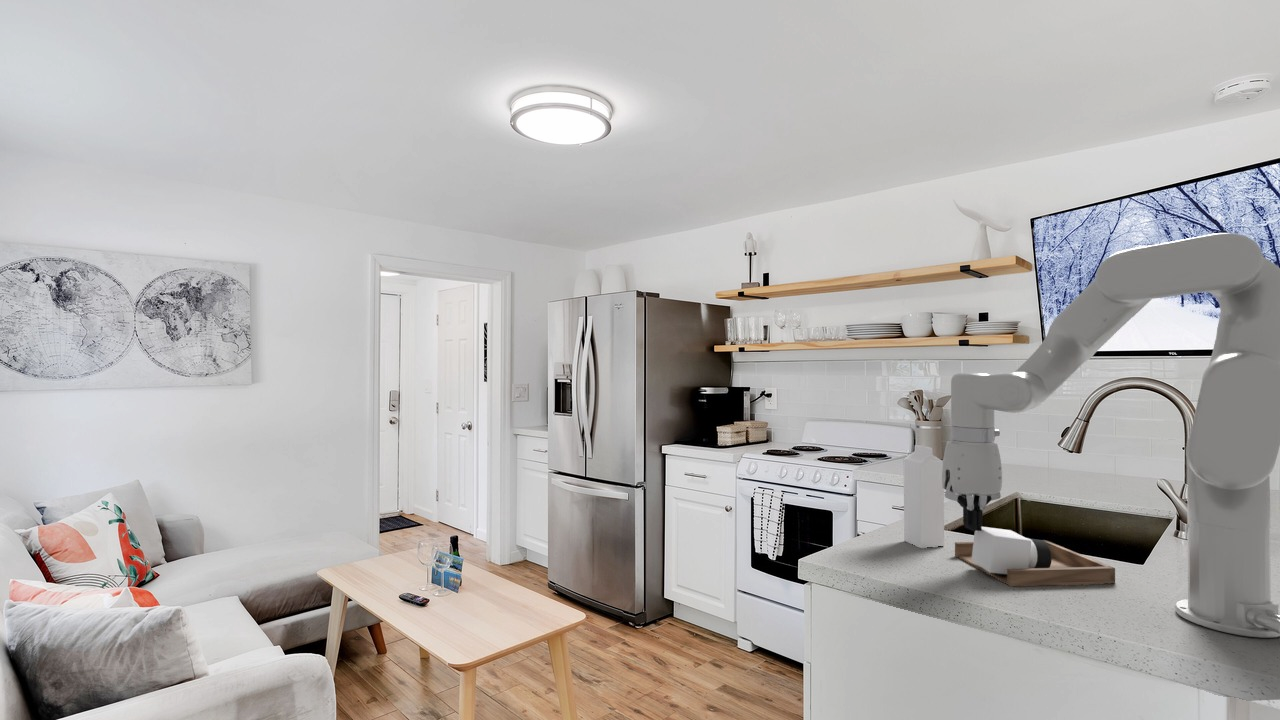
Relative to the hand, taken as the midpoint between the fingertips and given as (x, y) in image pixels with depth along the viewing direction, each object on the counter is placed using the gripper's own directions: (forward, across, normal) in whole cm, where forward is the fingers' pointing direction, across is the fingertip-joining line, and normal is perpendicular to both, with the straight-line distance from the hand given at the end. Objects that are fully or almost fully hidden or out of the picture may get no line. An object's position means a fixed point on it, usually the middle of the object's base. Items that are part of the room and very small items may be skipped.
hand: (972, 528), depth 123 cm
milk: (+8, 0, -18) cm, 20 cm away
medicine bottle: (+3, 0, +2) cm, 4 cm away
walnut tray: (+8, -12, 0) cm, 14 cm away
